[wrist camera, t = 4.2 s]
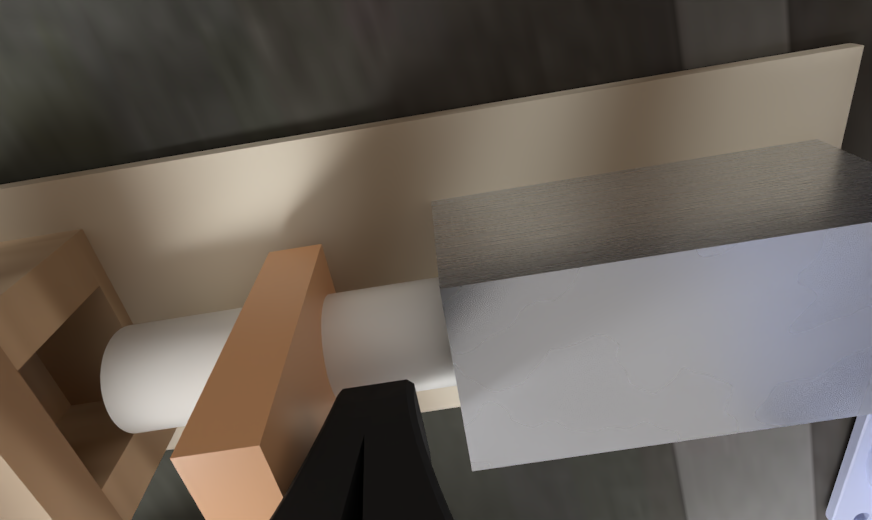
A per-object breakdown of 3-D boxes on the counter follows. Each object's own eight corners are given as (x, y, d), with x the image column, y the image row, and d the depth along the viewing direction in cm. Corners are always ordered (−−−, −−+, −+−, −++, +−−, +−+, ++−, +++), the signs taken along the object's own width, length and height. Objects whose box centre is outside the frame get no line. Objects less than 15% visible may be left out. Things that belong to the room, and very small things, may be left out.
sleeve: (816, 138, 12) (974, 205, 9) (782, 306, 14) (897, 410, 11) (430, 201, 12) (440, 289, 9) (457, 355, 15) (472, 471, 11)
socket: (81, 228, 12) (-78, 358, 8) (182, 416, 15) (100, 579, 11) (-44, 249, 12) (-262, 387, 8) (80, 431, 15) (-37, 599, 11)
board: (850, 42, 11) (864, 45, 11) (784, 348, 15) (793, 357, 15) (-145, 208, 12) (-162, 215, 12) (43, 458, 16) (35, 469, 16)
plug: (652, 190, 12) (835, 361, 7) (645, 335, 14) (783, 550, 9) (122, 275, 12) (-79, 495, 7) (189, 404, 14) (68, 646, 9)
